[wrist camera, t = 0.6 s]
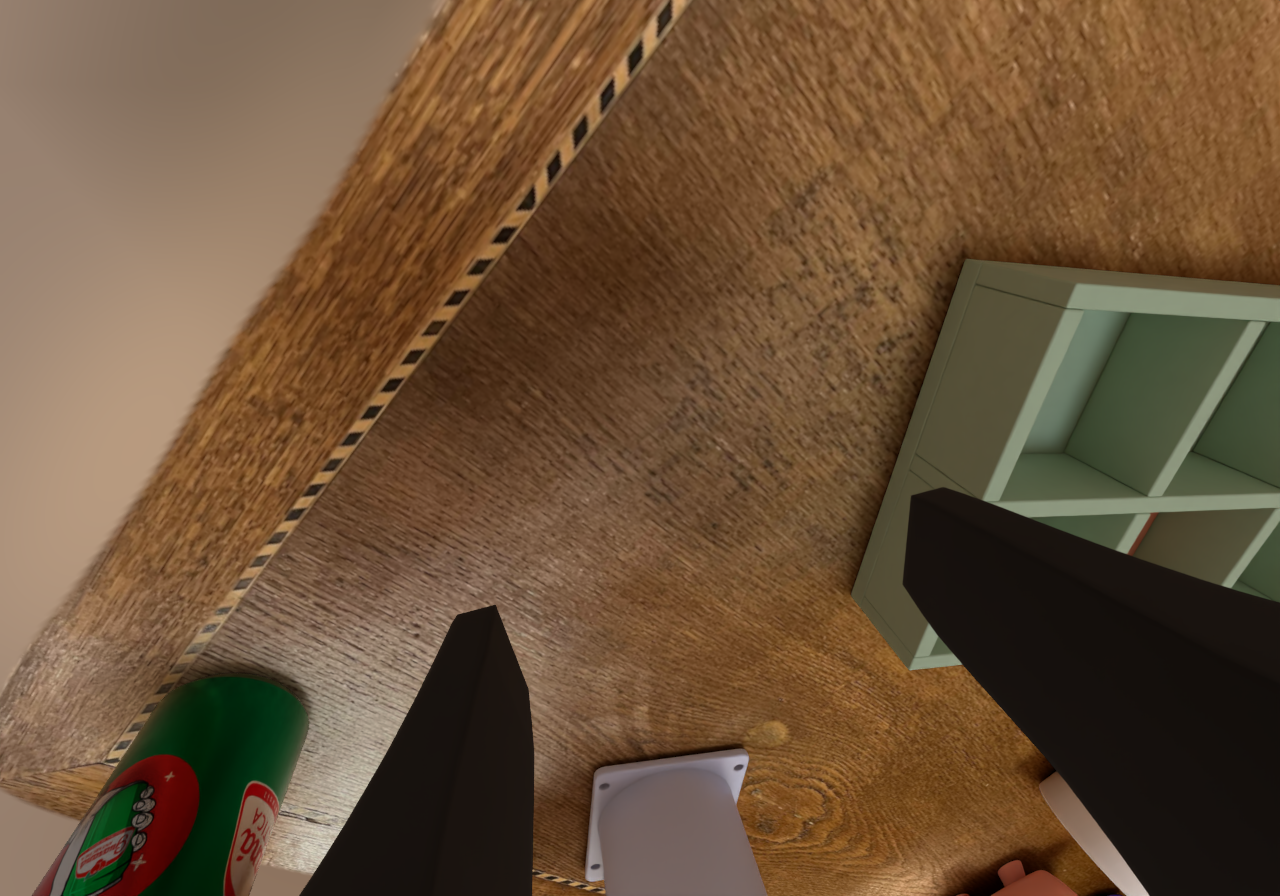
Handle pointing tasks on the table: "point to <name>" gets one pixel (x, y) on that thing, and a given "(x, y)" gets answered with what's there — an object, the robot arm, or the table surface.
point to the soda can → (189, 795)
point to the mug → (1089, 834)
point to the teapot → (1029, 882)
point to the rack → (1095, 427)
